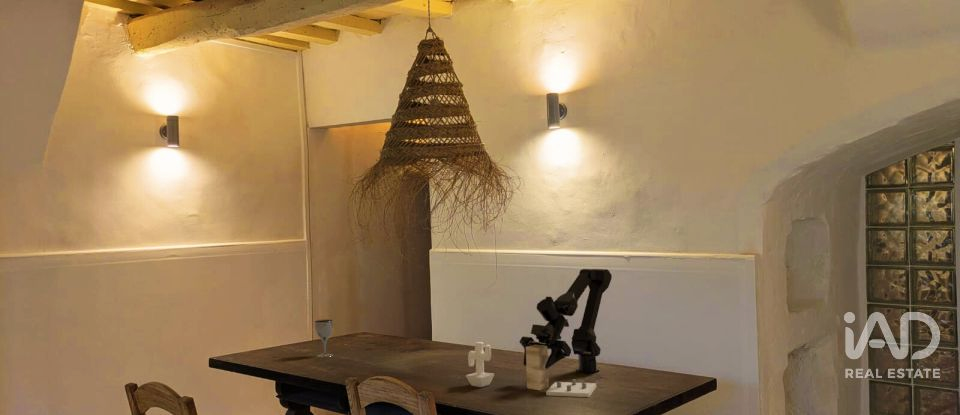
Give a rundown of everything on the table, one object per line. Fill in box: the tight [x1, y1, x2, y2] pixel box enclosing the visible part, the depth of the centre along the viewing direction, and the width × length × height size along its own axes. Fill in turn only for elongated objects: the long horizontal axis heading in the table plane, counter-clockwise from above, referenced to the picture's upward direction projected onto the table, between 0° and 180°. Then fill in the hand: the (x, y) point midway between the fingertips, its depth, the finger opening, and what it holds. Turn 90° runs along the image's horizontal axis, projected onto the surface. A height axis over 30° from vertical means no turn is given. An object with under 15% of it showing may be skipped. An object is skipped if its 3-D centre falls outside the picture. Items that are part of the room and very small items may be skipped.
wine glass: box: [313, 319, 334, 358], centre depth 343 cm, size 8×8×15 cm
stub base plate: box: [545, 378, 597, 398], centre depth 266 cm, size 14×14×3 cm
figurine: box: [465, 341, 495, 388], centre depth 279 cm, size 7×9×15 cm
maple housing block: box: [525, 345, 550, 391], centre depth 273 cm, size 5×5×14 cm
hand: (535, 366), depth 272 cm, fingers open, 9 cm apart
